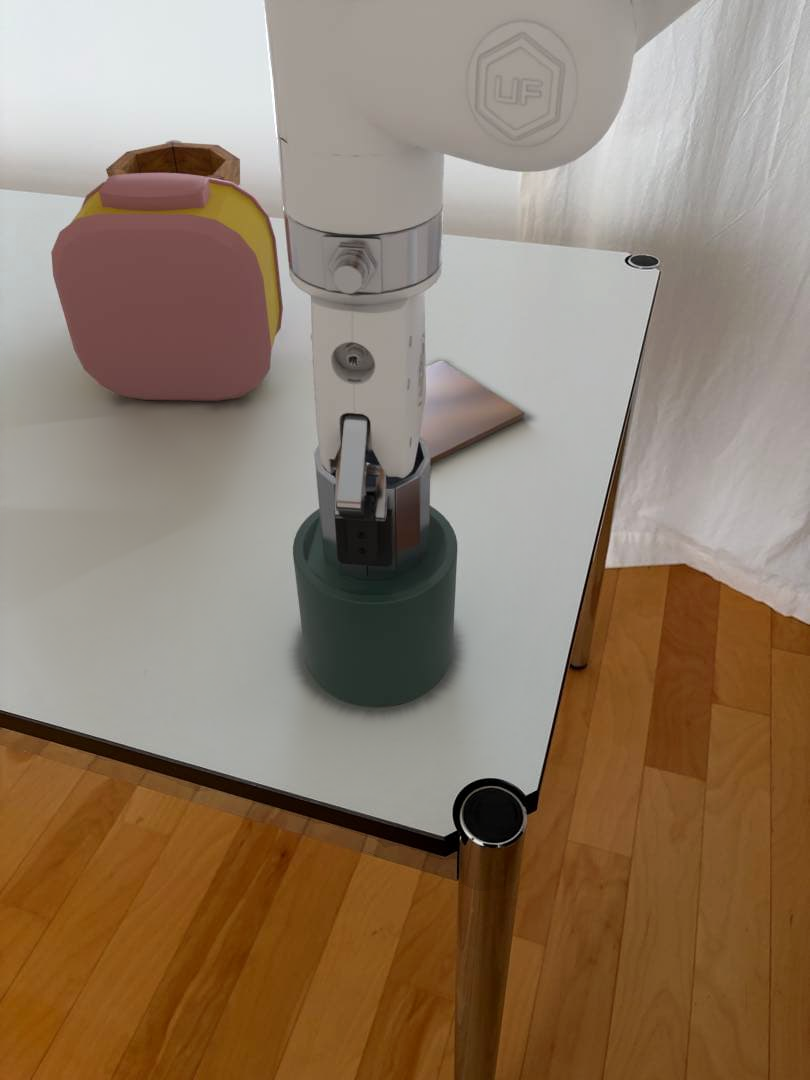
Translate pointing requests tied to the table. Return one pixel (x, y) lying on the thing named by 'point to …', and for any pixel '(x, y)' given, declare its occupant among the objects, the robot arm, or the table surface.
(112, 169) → the mug
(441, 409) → the coaster mat
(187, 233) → the alarm clock
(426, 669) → the dark green cylinder
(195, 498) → the table surface
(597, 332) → the table surface
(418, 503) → the cup
